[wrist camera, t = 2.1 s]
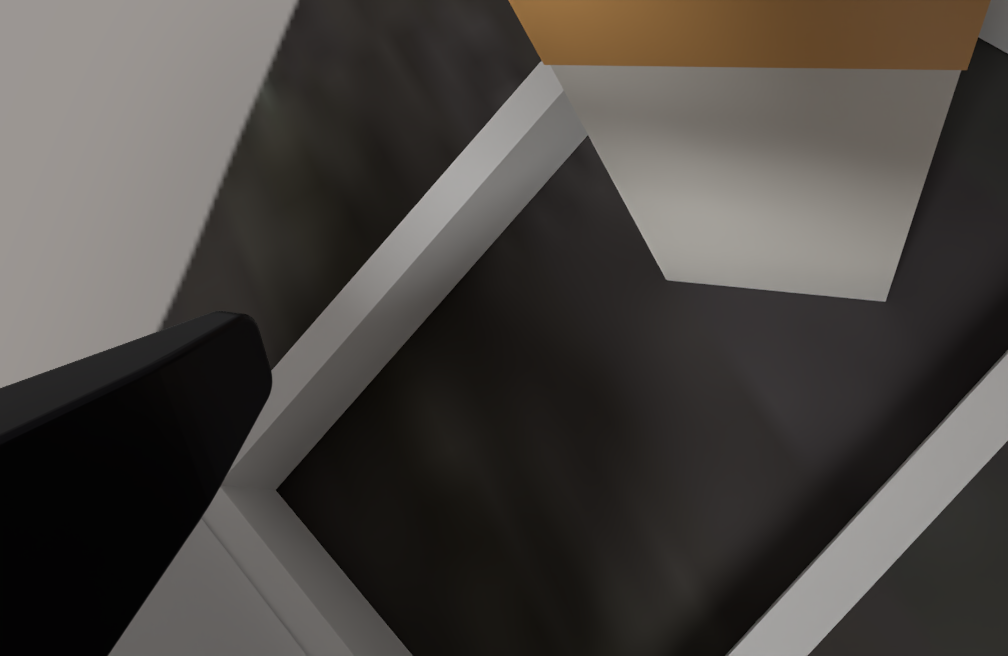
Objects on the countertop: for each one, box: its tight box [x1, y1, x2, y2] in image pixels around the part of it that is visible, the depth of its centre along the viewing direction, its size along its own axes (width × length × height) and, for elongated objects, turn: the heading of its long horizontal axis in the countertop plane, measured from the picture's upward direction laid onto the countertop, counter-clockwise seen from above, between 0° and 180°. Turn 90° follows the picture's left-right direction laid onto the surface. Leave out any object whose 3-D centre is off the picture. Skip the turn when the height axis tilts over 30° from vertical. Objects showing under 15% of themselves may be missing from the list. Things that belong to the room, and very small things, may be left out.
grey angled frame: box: [108, 0, 1008, 656], centre depth 16 cm, size 25×13×12 cm, turn 136°
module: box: [508, 0, 991, 302], centre depth 15 cm, size 5×5×13 cm
